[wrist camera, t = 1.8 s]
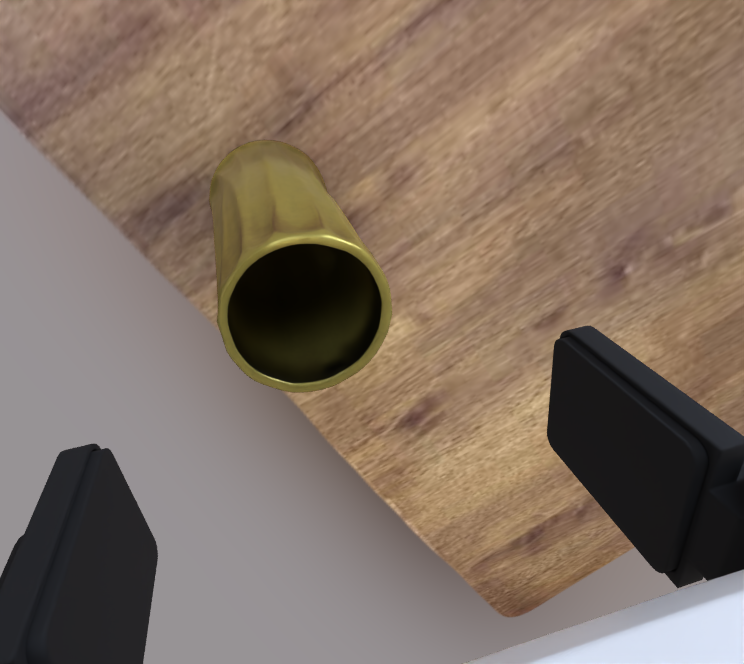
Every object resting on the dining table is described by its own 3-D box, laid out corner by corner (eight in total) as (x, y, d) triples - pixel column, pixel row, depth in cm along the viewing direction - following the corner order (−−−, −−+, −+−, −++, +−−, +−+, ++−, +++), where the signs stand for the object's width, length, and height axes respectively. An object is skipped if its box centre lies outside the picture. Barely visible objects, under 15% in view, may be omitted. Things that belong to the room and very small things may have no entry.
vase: (251, 274, 29) (274, 435, 16) (184, 177, 25) (150, 291, 13) (345, 220, 28) (436, 342, 16) (288, 116, 25) (351, 174, 13)
